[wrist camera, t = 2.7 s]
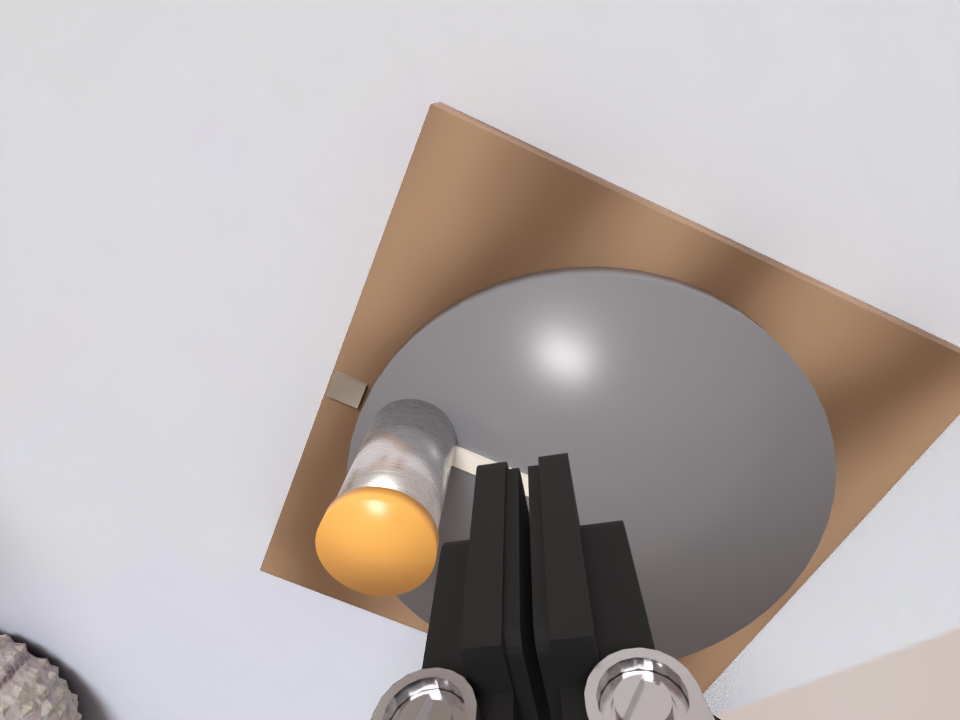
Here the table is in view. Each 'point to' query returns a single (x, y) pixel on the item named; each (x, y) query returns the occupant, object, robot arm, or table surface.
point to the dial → (596, 443)
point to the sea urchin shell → (32, 686)
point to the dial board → (619, 244)
